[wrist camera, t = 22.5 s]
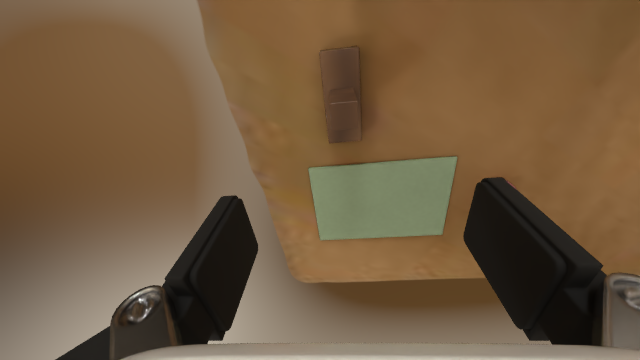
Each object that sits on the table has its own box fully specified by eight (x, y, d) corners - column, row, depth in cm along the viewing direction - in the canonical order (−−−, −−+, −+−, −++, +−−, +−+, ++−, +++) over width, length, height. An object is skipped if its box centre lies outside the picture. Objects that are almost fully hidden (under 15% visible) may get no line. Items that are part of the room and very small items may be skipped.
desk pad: (456, 155, 32) (457, 157, 32) (441, 233, 39) (442, 234, 39) (308, 167, 34) (308, 169, 34) (320, 238, 42) (320, 240, 41)
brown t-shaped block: (329, 135, 32) (327, 166, 25) (320, 50, 27) (314, 57, 19) (360, 133, 31) (367, 163, 24) (357, 45, 26) (365, 51, 19)
